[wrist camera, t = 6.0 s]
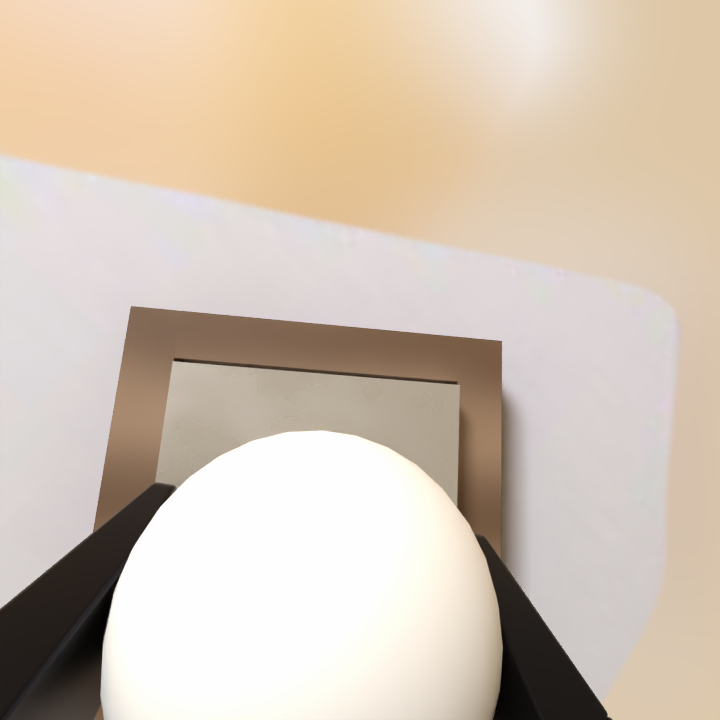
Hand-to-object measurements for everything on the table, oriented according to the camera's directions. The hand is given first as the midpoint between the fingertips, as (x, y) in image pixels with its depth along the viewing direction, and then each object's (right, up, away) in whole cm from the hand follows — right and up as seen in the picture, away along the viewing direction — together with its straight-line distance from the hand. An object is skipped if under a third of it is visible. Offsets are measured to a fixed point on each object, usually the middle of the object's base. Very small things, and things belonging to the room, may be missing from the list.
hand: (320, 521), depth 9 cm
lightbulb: (-1, -3, +6) cm, 7 cm away
